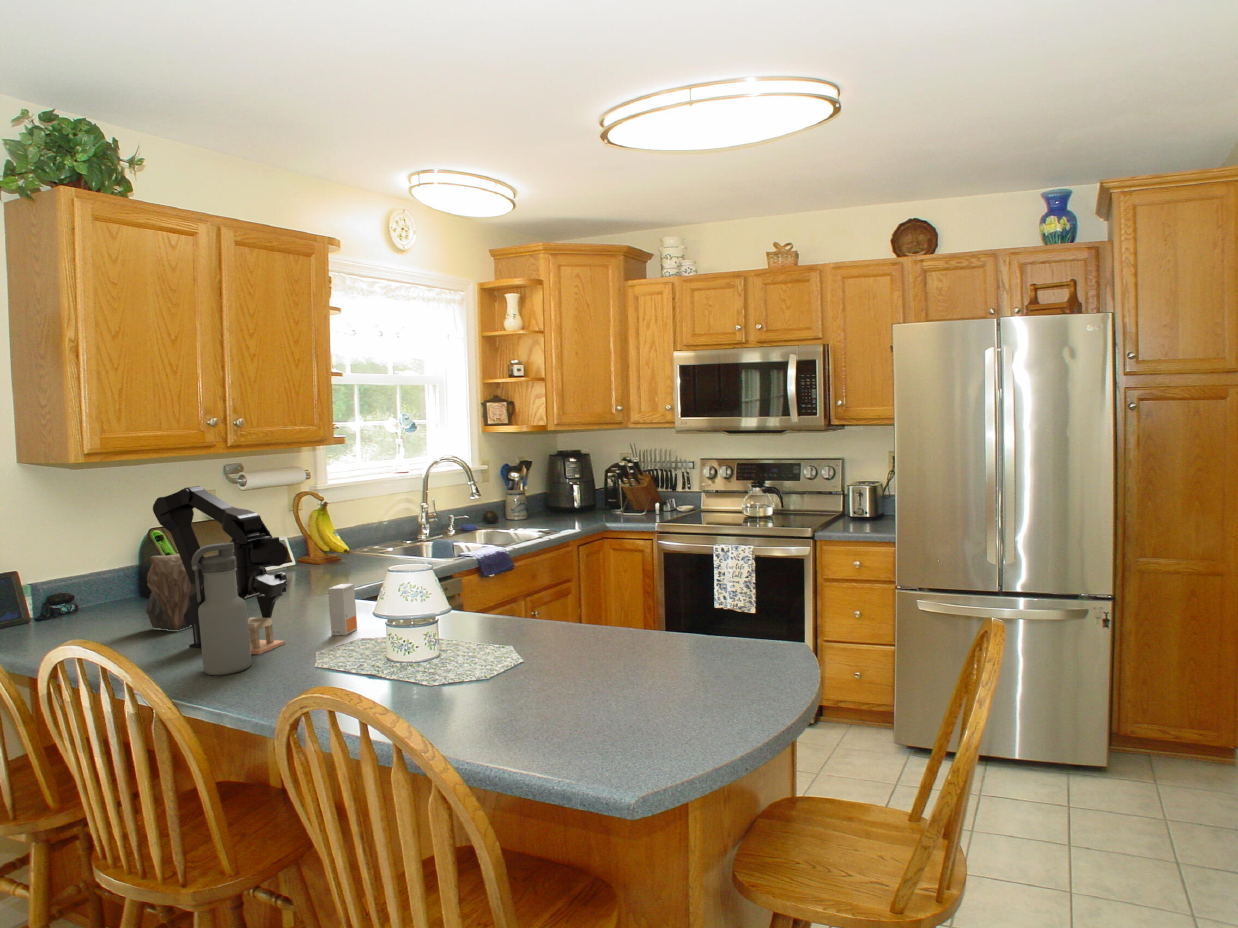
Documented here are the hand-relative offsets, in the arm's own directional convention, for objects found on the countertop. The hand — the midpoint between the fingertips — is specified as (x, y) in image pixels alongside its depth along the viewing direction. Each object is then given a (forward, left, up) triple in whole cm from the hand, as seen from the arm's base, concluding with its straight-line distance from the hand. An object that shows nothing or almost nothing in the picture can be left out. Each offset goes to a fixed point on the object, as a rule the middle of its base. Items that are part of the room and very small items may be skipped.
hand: (253, 629), depth 210 cm
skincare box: (+14, +16, -5) cm, 22 cm away
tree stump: (-41, +17, -5) cm, 45 cm away
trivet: (0, 0, -5) cm, 5 cm away
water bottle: (+6, -16, -5) cm, 18 cm away
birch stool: (0, 0, -4) cm, 4 cm away
